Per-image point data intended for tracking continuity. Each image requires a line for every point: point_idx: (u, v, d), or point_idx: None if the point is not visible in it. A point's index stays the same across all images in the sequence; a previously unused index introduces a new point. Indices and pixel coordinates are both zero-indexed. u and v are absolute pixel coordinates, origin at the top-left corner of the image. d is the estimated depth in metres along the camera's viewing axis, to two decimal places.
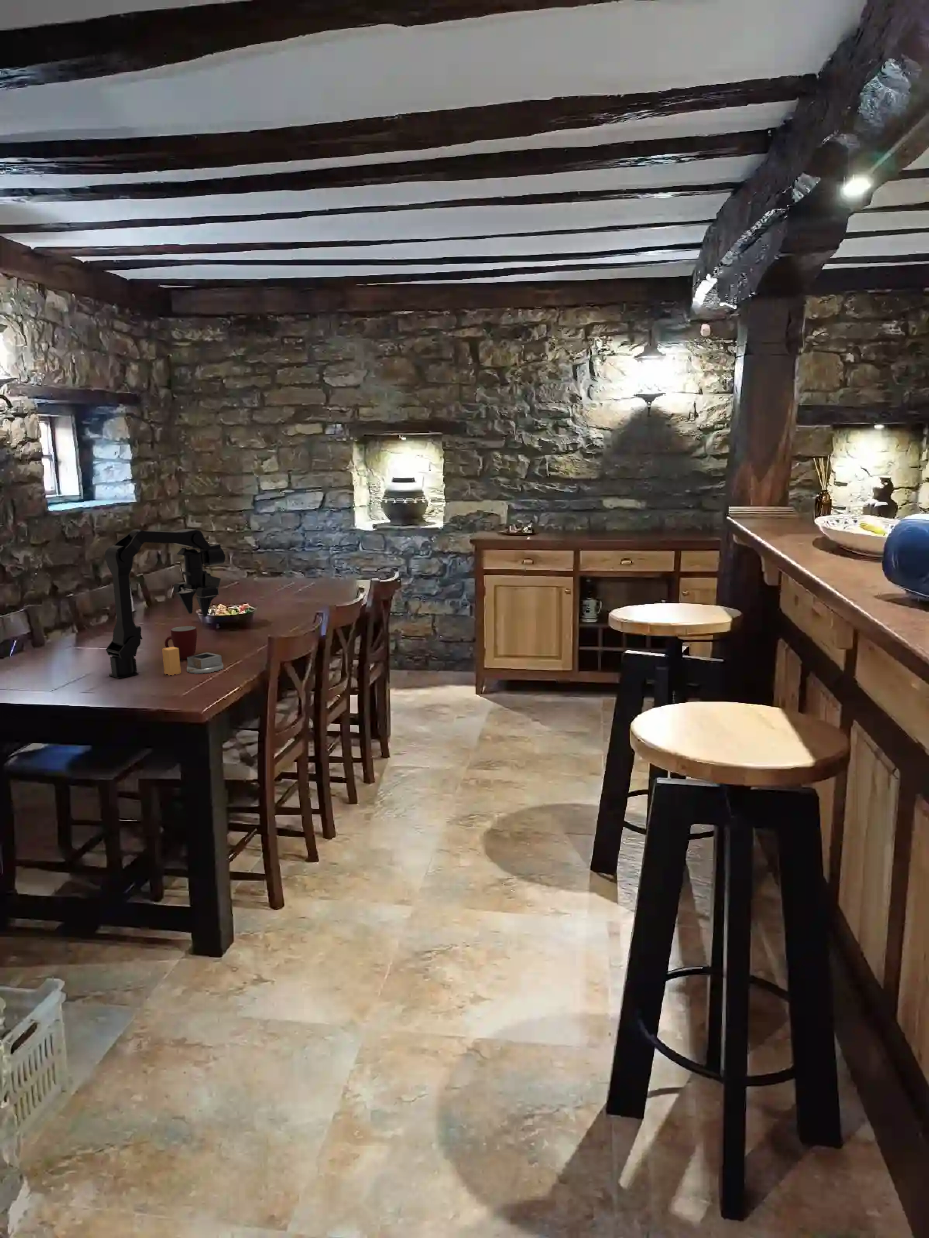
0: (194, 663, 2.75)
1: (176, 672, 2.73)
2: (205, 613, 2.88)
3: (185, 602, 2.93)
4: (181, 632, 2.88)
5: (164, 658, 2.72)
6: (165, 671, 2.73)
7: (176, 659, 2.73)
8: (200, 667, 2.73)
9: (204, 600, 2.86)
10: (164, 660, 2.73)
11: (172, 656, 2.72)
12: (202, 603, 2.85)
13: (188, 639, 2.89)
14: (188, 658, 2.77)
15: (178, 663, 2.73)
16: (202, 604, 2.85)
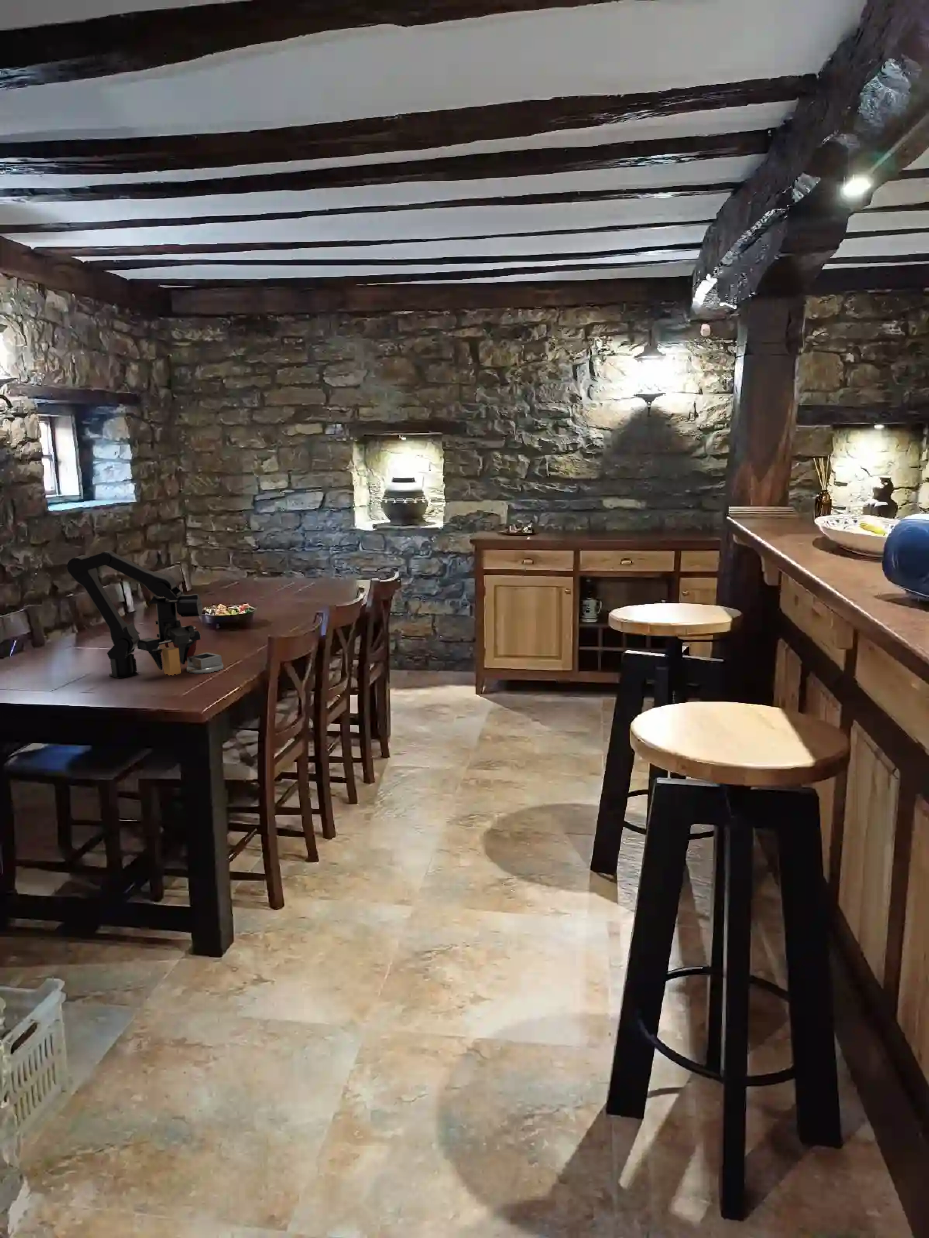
0: (194, 663, 2.75)
1: (176, 672, 2.73)
2: (159, 666, 2.71)
3: (179, 651, 2.77)
4: None
5: (164, 658, 2.72)
6: (165, 671, 2.73)
7: (176, 659, 2.73)
8: (200, 667, 2.73)
9: (154, 652, 2.69)
10: (164, 660, 2.73)
11: (172, 656, 2.72)
12: (151, 654, 2.70)
13: None
14: (188, 658, 2.77)
15: (178, 663, 2.73)
16: (152, 655, 2.70)
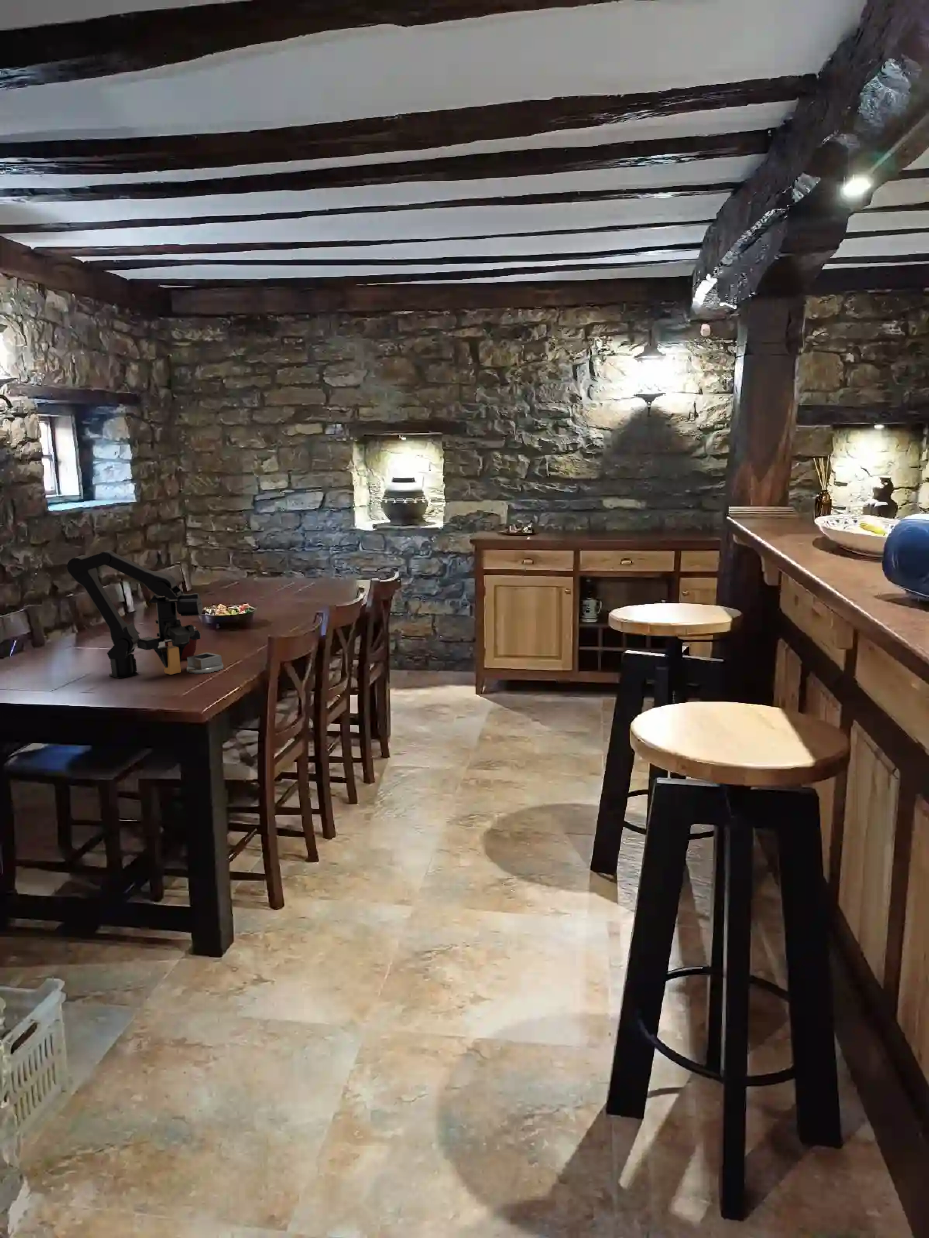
0: (194, 663, 2.75)
1: (176, 671, 2.73)
2: (165, 664, 2.72)
3: None
4: None
5: None
6: (165, 670, 2.73)
7: (176, 658, 2.73)
8: (200, 667, 2.73)
9: (160, 650, 2.71)
10: None
11: (172, 655, 2.72)
12: (157, 652, 2.71)
13: None
14: (188, 658, 2.77)
15: (178, 662, 2.73)
16: (157, 653, 2.71)
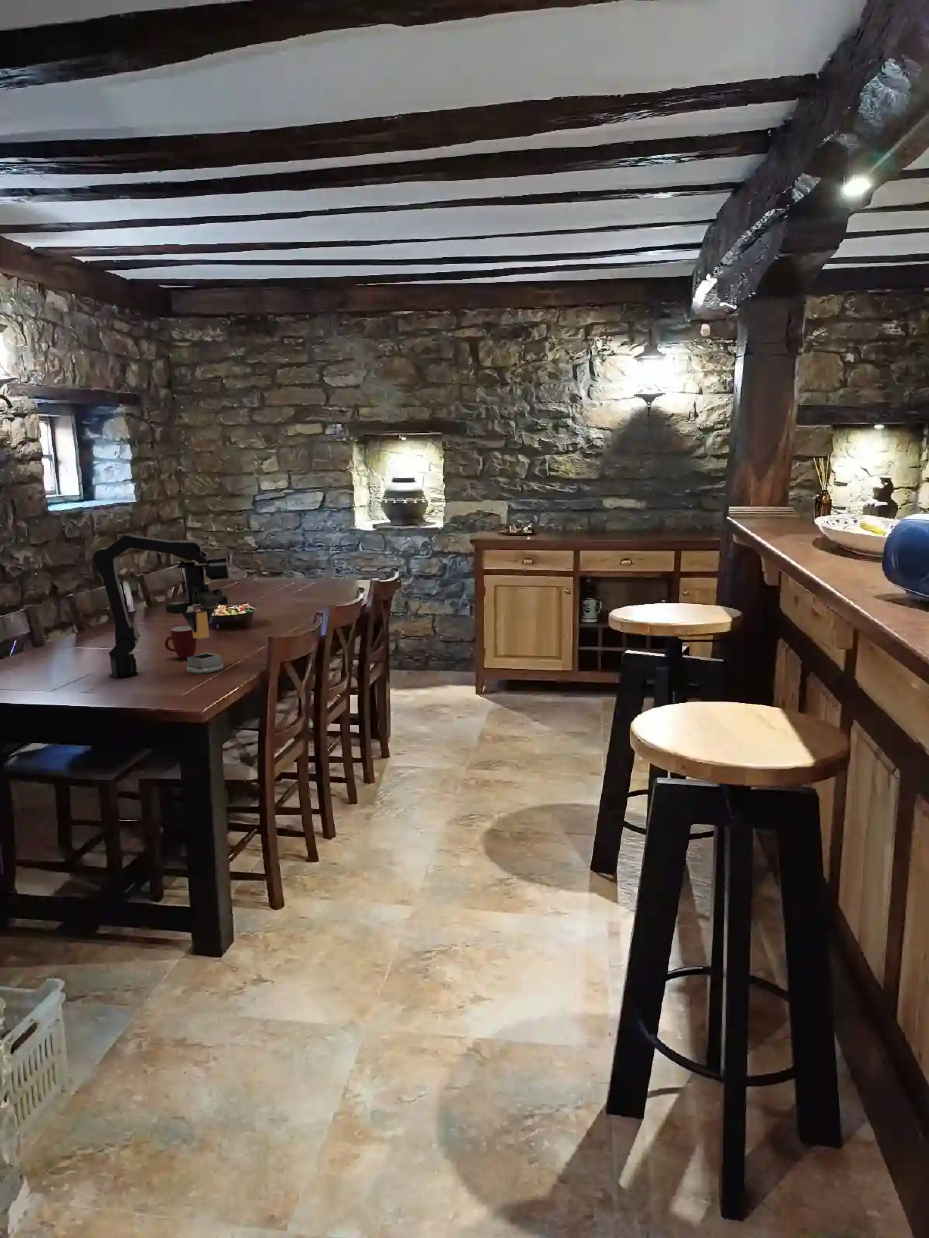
0: (194, 663, 2.75)
1: (205, 636, 2.75)
2: (193, 628, 2.74)
3: None
4: (181, 632, 2.88)
5: None
6: (194, 635, 2.75)
7: (204, 623, 2.75)
8: (200, 667, 2.73)
9: (188, 615, 2.73)
10: None
11: (201, 620, 2.73)
12: (186, 617, 2.73)
13: (188, 639, 2.89)
14: (188, 658, 2.77)
15: (206, 627, 2.75)
16: (186, 618, 2.73)
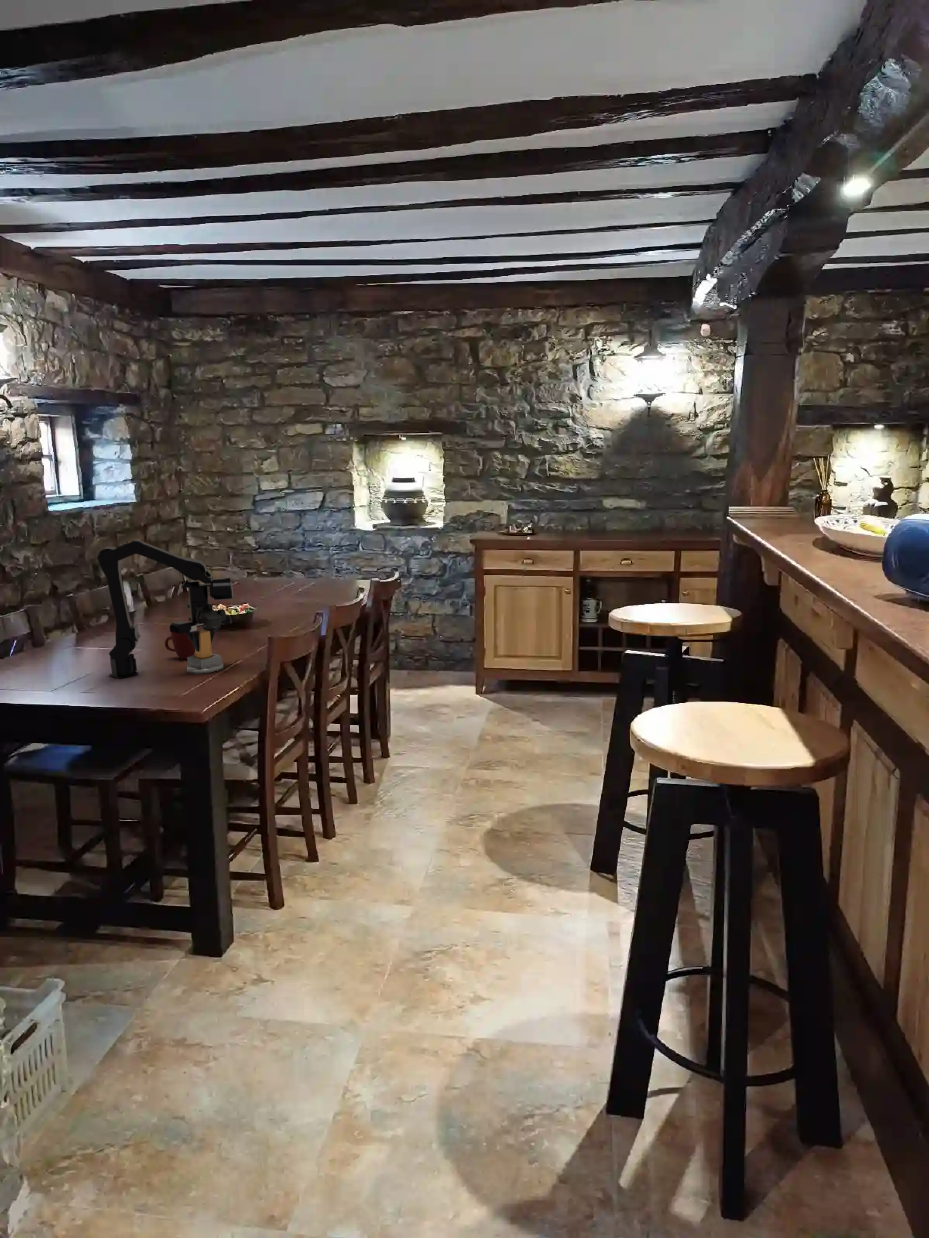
0: (194, 663, 2.75)
1: (207, 655, 2.77)
2: (196, 648, 2.75)
3: None
4: None
5: None
6: (196, 654, 2.77)
7: (207, 642, 2.76)
8: (200, 667, 2.73)
9: (192, 634, 2.74)
10: None
11: (204, 639, 2.75)
12: (189, 636, 2.75)
13: (188, 639, 2.89)
14: (188, 658, 2.77)
15: (209, 646, 2.77)
16: (189, 637, 2.75)
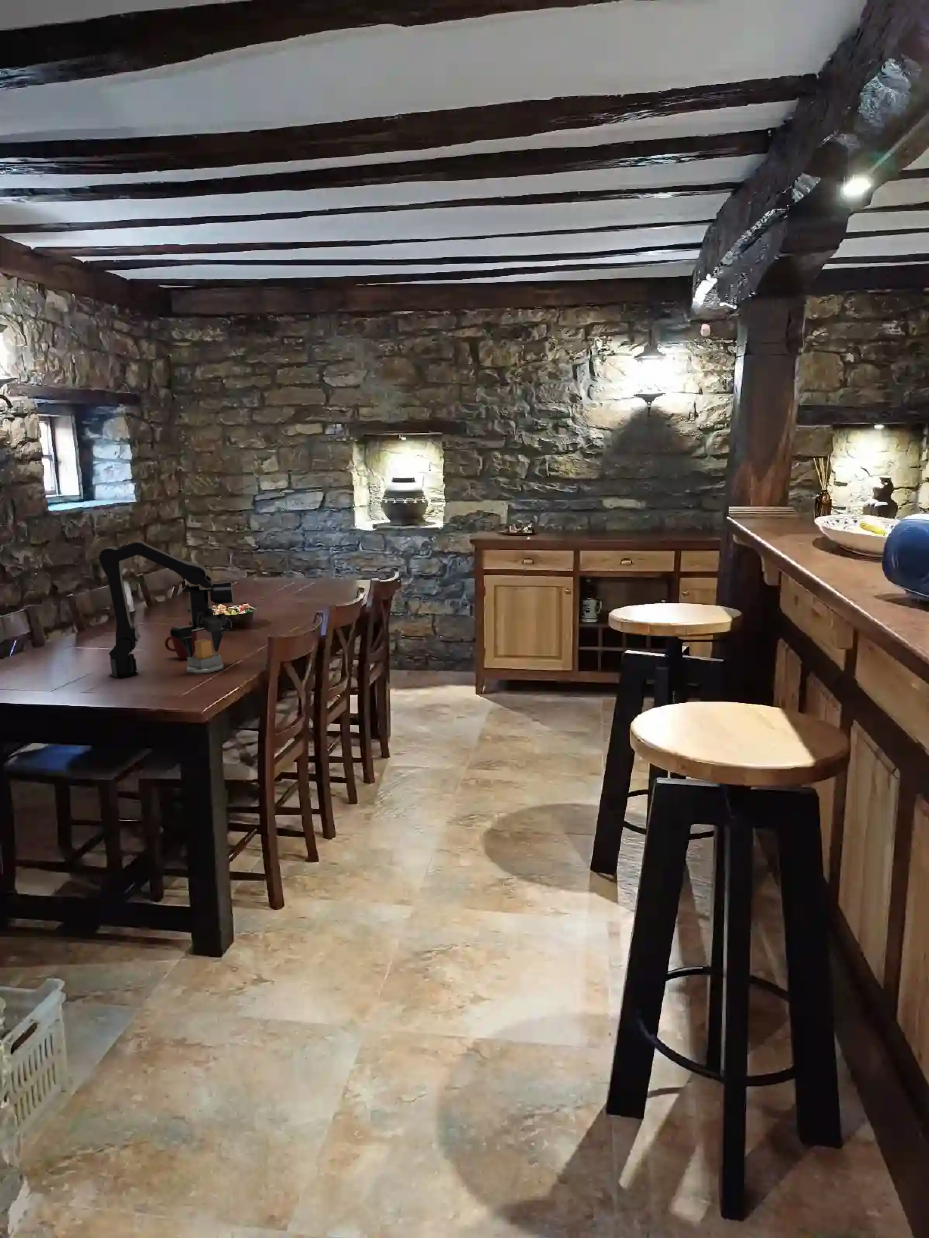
0: (194, 663, 2.75)
1: None
2: (189, 654, 2.74)
3: (213, 638, 2.81)
4: None
5: (197, 650, 2.76)
6: None
7: (208, 651, 2.77)
8: (200, 667, 2.73)
9: (185, 640, 2.72)
10: (197, 652, 2.77)
11: (205, 648, 2.76)
12: (182, 642, 2.73)
13: None
14: (188, 658, 2.77)
15: (210, 655, 2.77)
16: (182, 643, 2.73)
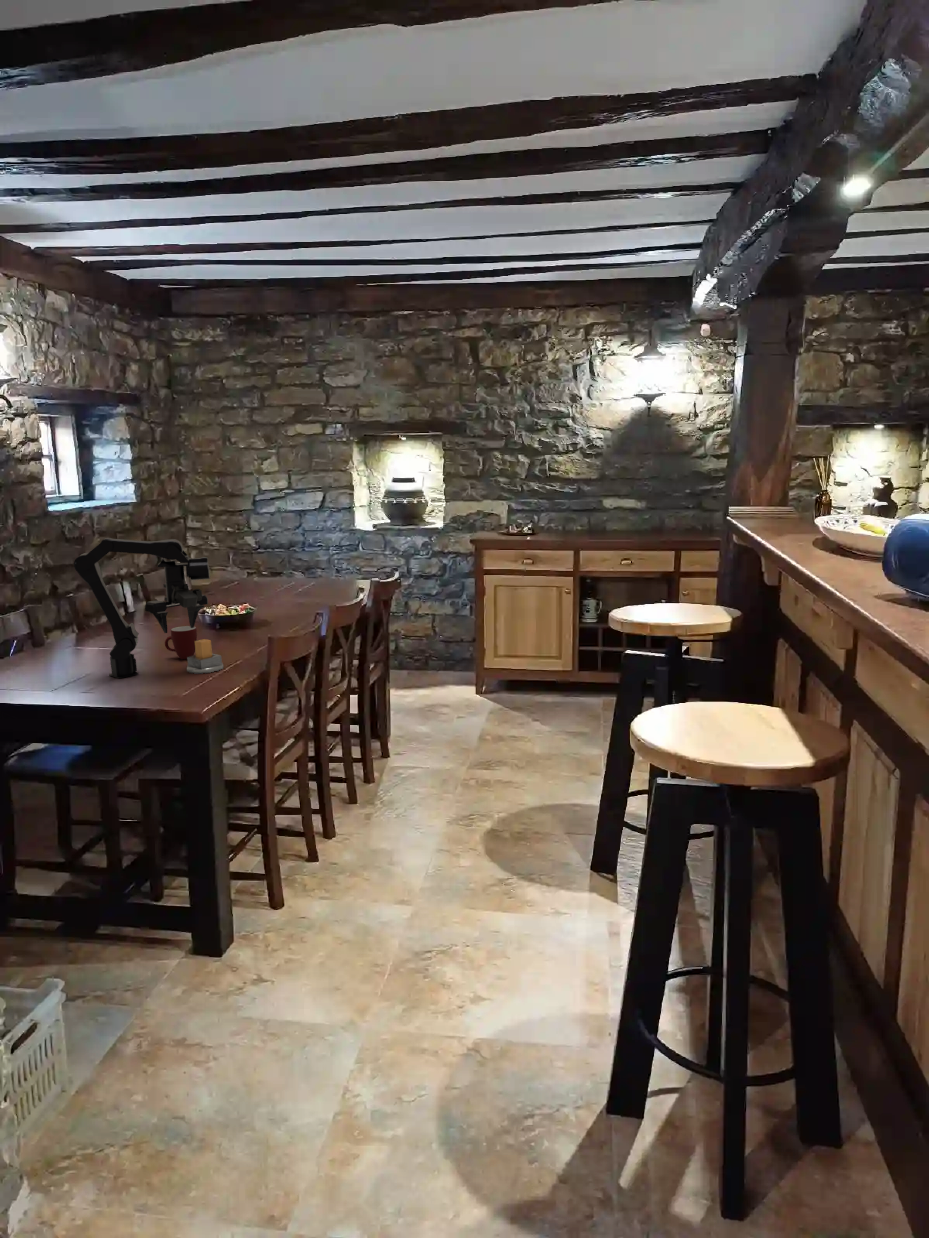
0: (194, 663, 2.75)
1: None
2: (164, 629, 2.71)
3: (189, 615, 2.79)
4: (181, 632, 2.88)
5: (197, 650, 2.76)
6: None
7: (208, 651, 2.77)
8: (200, 667, 2.73)
9: (159, 615, 2.70)
10: (197, 652, 2.77)
11: (205, 648, 2.76)
12: (157, 617, 2.71)
13: (188, 639, 2.89)
14: (188, 658, 2.77)
15: (210, 655, 2.77)
16: (157, 618, 2.71)
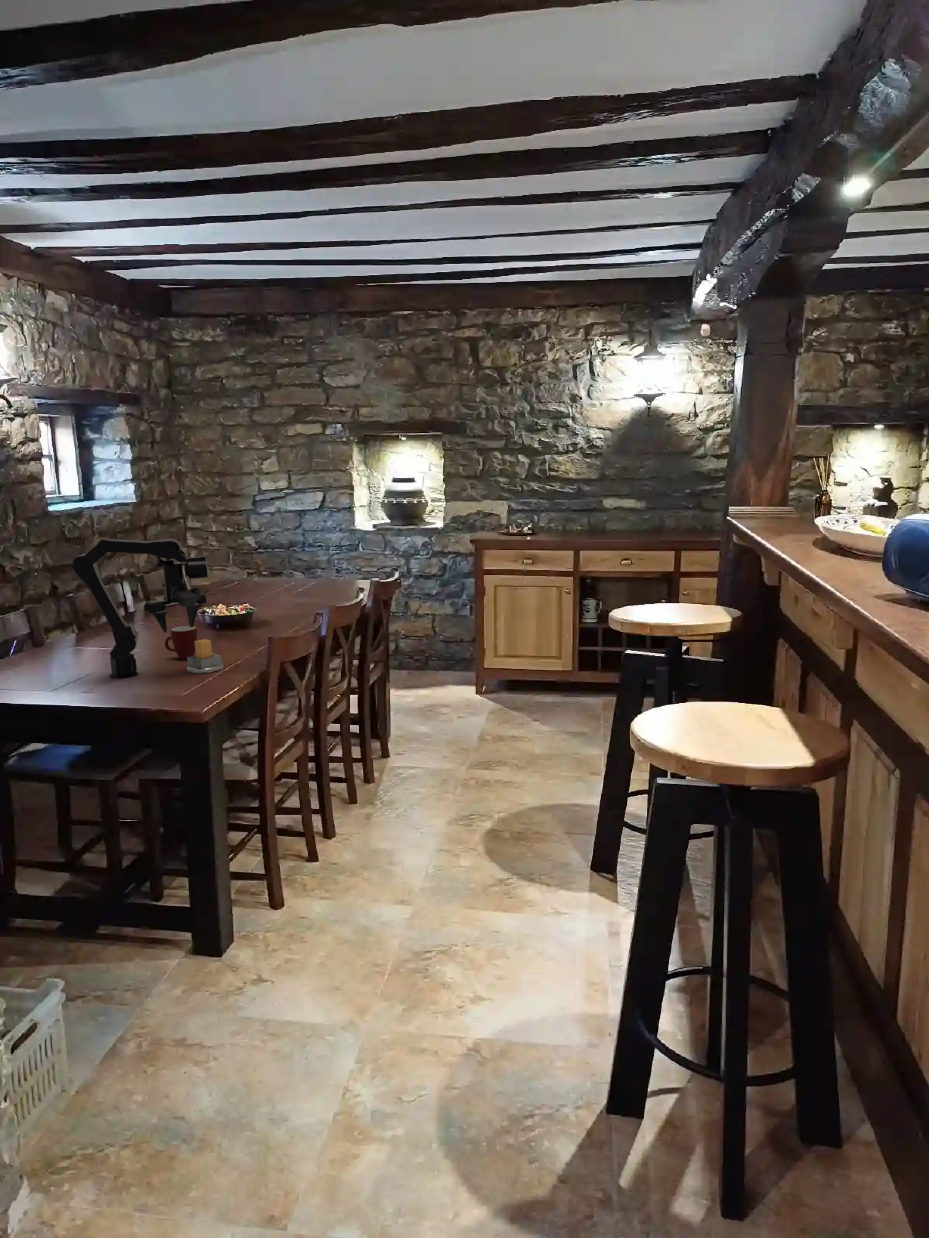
0: (194, 663, 2.75)
1: None
2: (163, 629, 2.71)
3: (188, 614, 2.79)
4: (181, 632, 2.88)
5: (197, 650, 2.76)
6: None
7: (208, 651, 2.77)
8: (200, 667, 2.73)
9: (159, 615, 2.70)
10: (197, 652, 2.77)
11: (205, 648, 2.76)
12: (156, 617, 2.71)
13: (188, 639, 2.89)
14: (188, 658, 2.77)
15: (210, 655, 2.77)
16: (156, 618, 2.71)
